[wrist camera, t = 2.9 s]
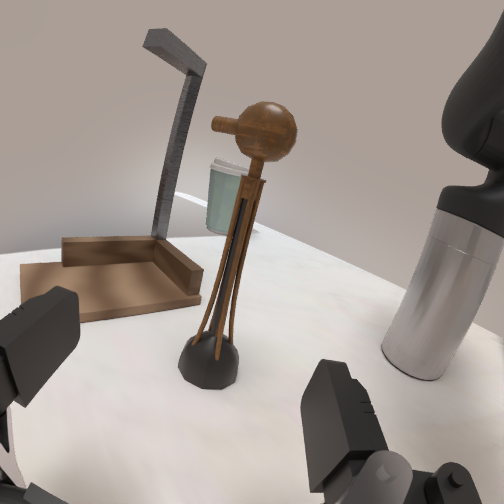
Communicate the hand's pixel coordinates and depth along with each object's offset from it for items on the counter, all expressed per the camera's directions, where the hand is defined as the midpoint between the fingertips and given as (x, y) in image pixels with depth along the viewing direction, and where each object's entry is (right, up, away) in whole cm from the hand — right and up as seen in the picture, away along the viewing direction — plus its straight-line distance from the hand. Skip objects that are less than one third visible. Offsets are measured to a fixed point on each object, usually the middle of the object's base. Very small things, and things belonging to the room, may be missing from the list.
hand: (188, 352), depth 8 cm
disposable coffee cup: (-5, +7, +54) cm, 55 cm away
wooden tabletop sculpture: (-2, -6, +14) cm, 15 cm away
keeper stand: (-14, -1, +20) cm, 25 cm away
